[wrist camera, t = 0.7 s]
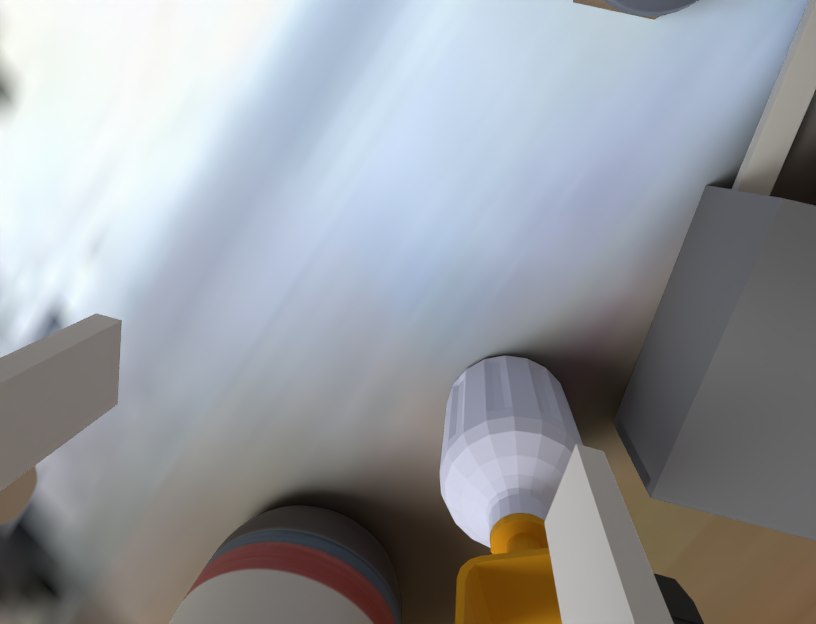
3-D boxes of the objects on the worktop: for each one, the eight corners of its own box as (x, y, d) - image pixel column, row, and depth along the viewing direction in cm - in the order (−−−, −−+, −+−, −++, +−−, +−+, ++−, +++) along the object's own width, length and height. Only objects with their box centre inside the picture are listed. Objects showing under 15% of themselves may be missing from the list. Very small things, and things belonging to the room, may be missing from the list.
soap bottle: (575, 448, 41) (709, 848, 18) (461, 465, 43) (444, 851, 19) (555, 343, 38) (679, 644, 15) (435, 365, 40) (381, 668, 17)
